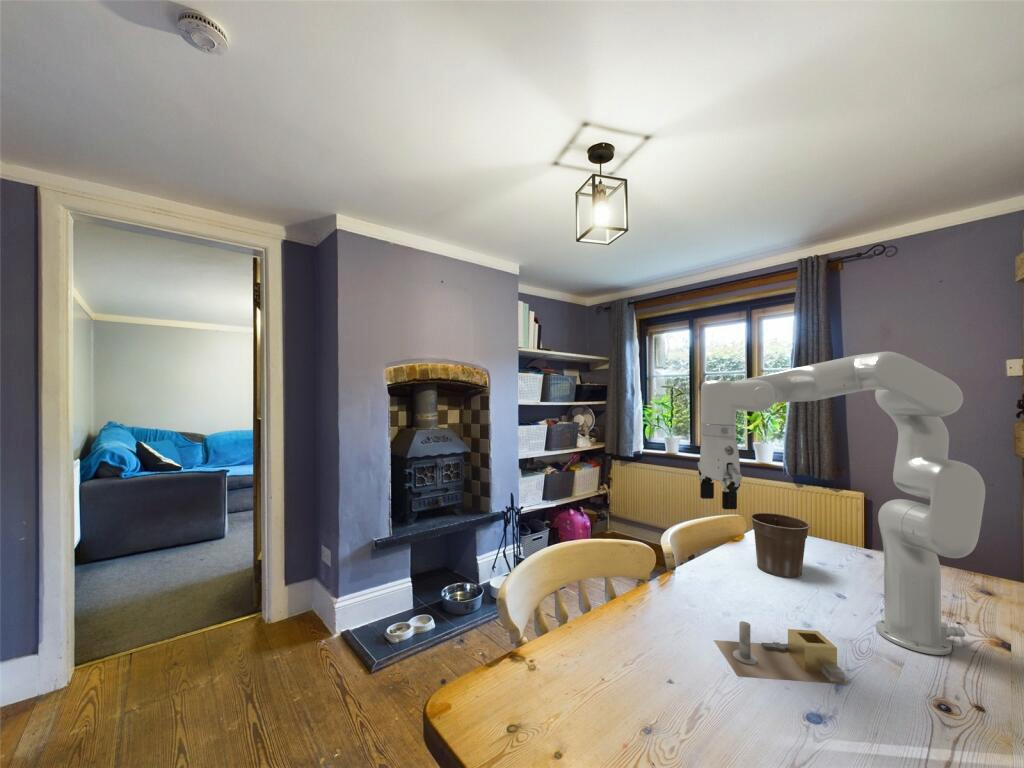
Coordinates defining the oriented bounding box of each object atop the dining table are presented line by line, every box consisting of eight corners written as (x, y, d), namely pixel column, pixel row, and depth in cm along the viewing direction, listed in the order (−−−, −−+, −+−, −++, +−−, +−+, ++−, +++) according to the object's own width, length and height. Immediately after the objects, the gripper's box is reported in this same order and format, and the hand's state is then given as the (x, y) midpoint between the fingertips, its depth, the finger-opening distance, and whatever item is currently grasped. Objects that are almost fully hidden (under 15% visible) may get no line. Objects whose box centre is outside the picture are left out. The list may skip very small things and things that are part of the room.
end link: (817, 654, 88) (817, 630, 88) (837, 673, 82) (837, 647, 82) (787, 652, 89) (787, 629, 89) (804, 671, 83) (804, 645, 83)
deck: (809, 652, 91) (809, 613, 91) (848, 690, 79) (847, 646, 79) (713, 645, 93) (713, 608, 93) (737, 682, 81) (737, 639, 81)
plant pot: (823, 582, 126) (823, 528, 127) (769, 581, 126) (769, 527, 127) (788, 560, 142) (788, 513, 143) (740, 560, 143) (740, 512, 143)
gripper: (756, 435, 92) (755, 513, 92) (713, 429, 109) (713, 494, 109) (722, 435, 92) (722, 513, 91) (685, 428, 109) (685, 494, 108)
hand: (717, 503), depth 100 cm, fingers open, 9 cm apart
